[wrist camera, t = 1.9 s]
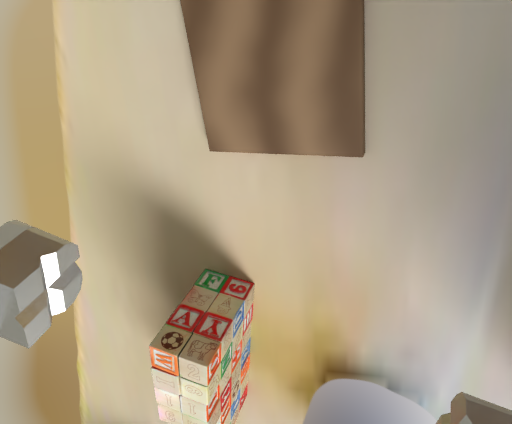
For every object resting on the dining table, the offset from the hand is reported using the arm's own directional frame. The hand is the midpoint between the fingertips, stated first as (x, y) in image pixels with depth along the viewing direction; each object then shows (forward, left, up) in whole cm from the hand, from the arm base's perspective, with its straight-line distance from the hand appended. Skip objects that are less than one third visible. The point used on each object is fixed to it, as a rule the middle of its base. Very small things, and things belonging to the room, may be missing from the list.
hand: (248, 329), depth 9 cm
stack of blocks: (+20, +36, -30) cm, 51 cm away
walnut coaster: (+10, +3, -29) cm, 31 cm away
